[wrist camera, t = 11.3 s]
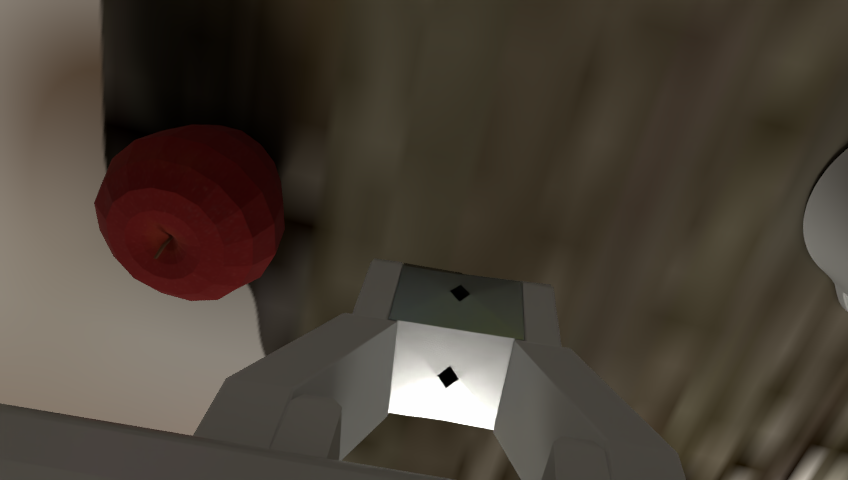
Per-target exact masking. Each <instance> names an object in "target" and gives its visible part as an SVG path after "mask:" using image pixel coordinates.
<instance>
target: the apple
mask: <svg viewBox="0 0 848 480" xmlns="http://www.w3.org/2000/svg"><path fill="white" fill-rule="evenodd" d="M94 204H95V208H96V214H97V219H98V223H99V228H100V231H101V233H102V235H103V237H104V239H105V241H106V243H107V245H108V246H109V248H110V250H111V252H112V254H113V256H114V257H115V258H116V259H117V260H118V261H119V262H120V263H121V264H122V266H123V267H124V268H125V269H126V270H127V271H128V272H129V273H130V274H131V275H132V277H133V278H135V279H137V280H139V281H141V282H142V283H144V284H146V285H148V286H150V287H152V288H154V289H155V290H157V291H159V292H161V293H164V294H168V295H171V296H175V297H178V298H182V299H186V300H189V301H197V300H218V299H220V298H222V297H223V296H225V295H227V294H229V293H230V292H232V291H234V290H235V289H237V288H239V287H241V286H243V285H245V284H247V283H249V282H251V281H253V280H255V279H257V278H259V277H261V275H262V274H263V272H264V271H265V269H266V268H267V266H268V265H269V263H270V262H271V260H272V259H273V257H274V255H275V254H276V251H277V249H278V246H279V243H280V240H281V237H282V235H283V232H284V229H285V227H284V211H283V198H282V188H281V181H280V178H279V175H278V172H277V169H276V166H275V163H274V161H273V160H272V159H271V157H270V156H269V155H268V153H267V152H266V151H265V149H264V148H263V147H262V145H261V144H259V143H258V142H257V141H255V140H254V139H253V138H251V137H250V136H248V135H247V134H246V133H244V132H243V131H242V130H237V129H233V128H229V127H225V126H221V125H187V126H183V127H178V128H173V129H168V130H163V131H160V132H157V133H154V134H151V135H148V136H145V137H142V138H139V139H137V140H135V141H133V142H132V143H131V144H130V145H128V146H127V147H126V148H125V149H124V150H122V151H121V152H120V153H119V154H117V155H116V156H115V157H114V158H112V161H111V163H110V165H109V168H108V170H107V172H106V175H105V177H104V180H103V182H102V184H101V187H100V190H99V192H98V195H97V198H96V200H95V202H94Z"/></svg>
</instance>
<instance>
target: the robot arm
mask: <svg viewBox="0 0 848 480" xmlns="http://www.w3.org/2000/svg"><path fill="white" fill-rule="evenodd" d="M803 232H804V239H805V243H806V247H807V249H808V251H809V254H810V255H811V257H812V259H813V260H814V261H815V263H816V264H817V265H818V266H819V267H820V268H821V269H822V270H823V271H824V272H825V273H826V274H827V275H828V276H829V277H830V278H831V279H832V280H833V282H834V283H835V288H836V292H837V296H838V300H839V302H840V304H841V306H842V307H843V308H844V309H845V310H846V311H847V312H848V149H846V150H845V151H844V152H843V153H842V154H841V155H840V156H839V157H838V158H837V159H836V160H835V161H834V162H833V163H832V164H831V165H830V166H829V167H828V169H827V170H826V171H825V172H824V174H823V175H822V176H821V178H820V179H819V181H818V182H817V184H816V186H815V187H814V189H813V191H812V193H811V196H810V198H809V200H808V203H807V206H806V210H805V215H804V222H803ZM388 413H395V414H403V415H410V416H417V417H425V418H432V419H439V420H445V421H450V422H455V423H461V424H466V425H471V426H476V427H482V428H487V429H492V430H494V431H493V433H494V434H495V436H496V438H497V439H498V441H499V443H500V445H501V446H502V448H503V450H504V451H505V453H506V455H507V456H508V458H509V460H510V462H511V463H512V465H513V467H514V468H515V470H516V472H517V473H518V475H519V477H520V479H521V480H686V478H685V475H684V472H683V469H682V466H681V462H680V459H679V456H678V453H677V452H676V451H675V450H674V449H673V448H672V447H671V446H670V445H669V444H668V443H667V442H666V441H665V440H664V439H663V438H662V437H661V436H660V435H659V434H658V433H657V432H655V431H654V430H653V429H652V428H651V427H650V426H649V425H648V424H647V423H646V422H645V421H644V420H643V419H642V418H641V417H640V416H639V415H638V414H637V413H636V412H635V411H634V410H633V409H632V408H631V407H630V406H629V405H628V404H627V403H626V402H625V401H624V400H623V399H622V398H621V397H620V396H619V395H618V394H617V393H616V392H615V391H614V390H612V389H611V388H610V387H609V386H608V385H607V384H606V383H605V382H604V381H603V380H602V379H601V378H600V377H599V376H598V375H597V374H596V373H595V372H594V371H593V370H592V369H591V368H590V367H589V366H588V365H587V364H586V363H585V362H584V361H583V360H582V359H581V358H580V357H579V356H578V355H577V354H576V353H575V352H574V351H573V350H572V349H570V348H565V347H561V340H560V332H559V325H558V317H557V310H556V303H555V295H554V288H553V287H552V286H551V285H550V284H541V283H532V282H524V281H514V280H506V279H498V278H490V277H482V276H475V275H467V274H462V273H460V272H454V271H448V270H442V269H436V268H431V267H425V266H419V265H413V264H407V263H404V264H403V263H402V262H396V261H389V260H382V259H374V260H373V261H372V262H371V264H370V266H369V269H368V272H367V275H366V277H365V280H364V283H363V286H362V288H361V291H360V294H359V297H358V300H357V302H356V305H355V308H354V311H353V313H352V314H348V313H343V314H341V315H339V316H337V317H335V318H334V319H332V320H330V321H328V322H326V323H325V324H323V325H321V326H319V327H318V328H316V329H314V330H312V331H310V332H309V333H307V334H305V335H303V336H301V337H300V338H298V339H296V340H294V341H292V342H291V343H289V344H287V345H285V346H283V347H282V348H280V349H278V350H276V351H275V352H273V353H271V354H269V355H267V356H266V357H264V358H262V359H260V360H258V361H257V362H255V363H253V364H251V365H250V366H248V367H246V368H244V369H242V370H240V371H239V372H237V373H235V374H233V375H232V376H230V377H228V378H226V380H225V381H224V383H223V385H222V387H221V388H220V390H219V392H218V393H217V395H216V397H215V399H214V400H213V402H212V404H211V405H210V407H209V409H208V411H207V412H206V414H205V416H204V417H203V419H202V421H201V423H200V424H199V426H198V428H197V430H196V431H195V433H194V435H193V436H191V435H185V434H179V433H173V432H167V431H160V430H154V429H149V428H142V427H137V426H131V425H125V424H119V423H113V422H107V421H101V420H96V419H89V418H84V417H78V416H71V415H66V414H60V413H53V412H48V411H41V410H36V409H30V408H24V407H18V406H12V405H6V404H0V480H453V479H447V478H441V477H435V476H429V475H423V474H417V473H411V472H405V471H399V470H393V469H387V468H381V467H375V466H369V465H363V464H357V463H351V462H345V461H341V460H342V459H343V458H344V457H345V456H346V455H347V454H348V453H349V452H350V451H351V450H352V449H353V448H355V447H356V446H357V445H358V444H359V443H360V442H361V441H362V440H363V439H364V438H365V437H366V436H367V435H368V434H369V433H370V432H371V431H372V430H373V429H374V428H375V427H376V426H377V425H378V424H379V423H380V422H382V421H383V420H384V419H385V418H386V417H387V416H388Z"/></svg>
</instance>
